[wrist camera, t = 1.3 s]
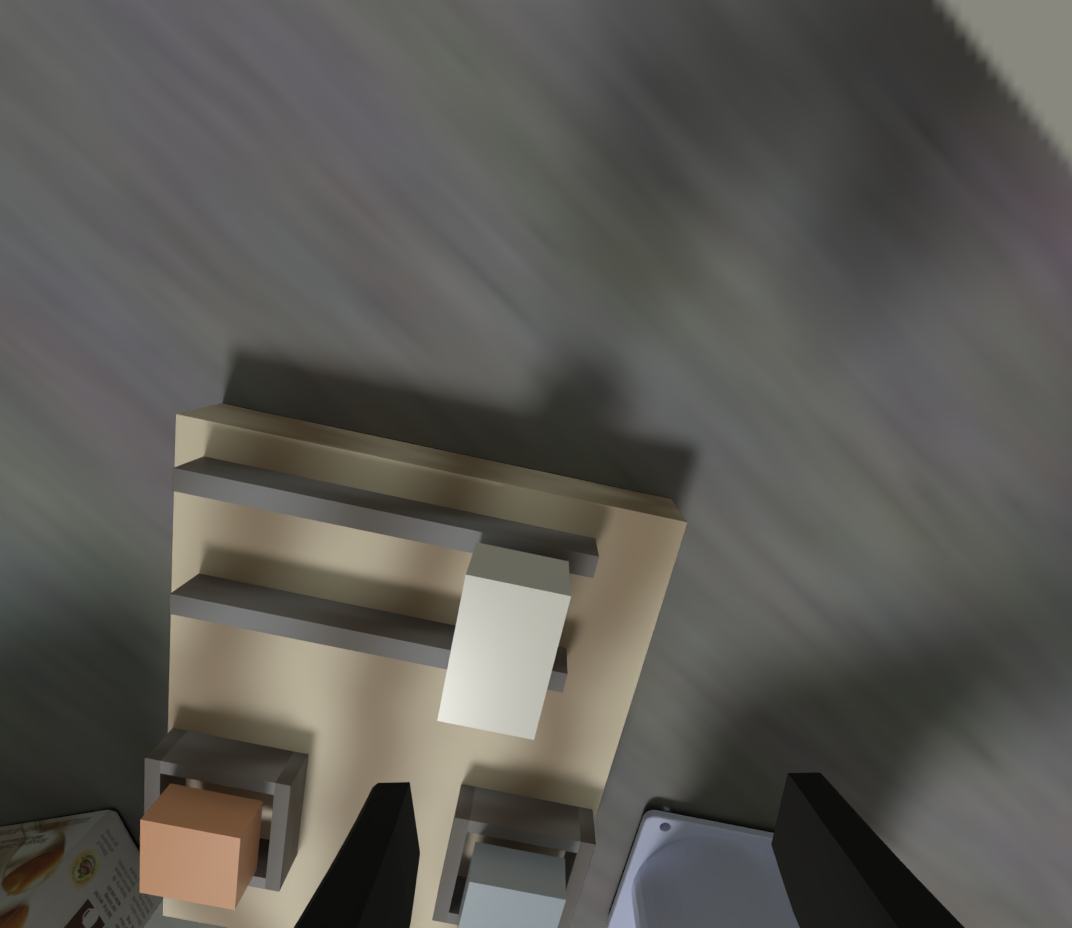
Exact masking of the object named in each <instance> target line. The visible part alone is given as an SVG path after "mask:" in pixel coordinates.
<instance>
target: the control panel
mask: <svg viewBox="0 0 1072 928" xmlns="http://www.w3.org/2000/svg"><path fill="white" fill-rule="evenodd" d="M173 491H174V516H173V554H172V592H171V593H170V613H169V614H171V630H170V668H169V706H168V734H167V735H166V736H165V737H164V738H163V739H162V740H161V741H160V742H159V743H158V744H157V745H156V746H155V747H154V748H153V750H152V751H151V752H150V753H149V754H148V755H147V756H146V757H145V776H144V814H145V813H146V812H147V811H148V810H149V808H150V807H151V806H152V805H153V804H154V802H155V801H156V800H157V799H158V798H159V796H160V795H161V794H162V793H163V792H164V790H165V789H166V788H167V787H168V786H169V784H170V783H171V784H176V785H181V786H187V787H192V788H197V789H202V790H208V791H213V792H218V793H223V794H229V795H234V796H239V797H244V798H249V799H255V800H260V801H263V806H262V817H261V828H260V840H259V851H258V862H257V870H256V872H255V874H254V876H253V877H252V879H251V881H250V883H249V885H248V887H247V888H246V890H245V892H244V894H243V896H242V898H241V900H240V901H239V903H238V905H237V907H236V909H235V910H231V909H226V908H221V907H215V906H210V905H204V904H199V903H193V902H188V901H183V900H177V899H172V898H166V897H163V916H168V917H174V918H179V919H185V920H190V921H195V922H201V923H206V924H212V925H217V926H223V927H228V928H294V926H295V924H296V923H297V921H298V920H299V918H300V916H301V915H302V913H303V911H304V910H305V908H306V906H307V905H308V903H309V901H310V900H311V898H312V896H313V895H314V893H315V891H316V890H317V888H318V886H319V885H320V883H321V881H322V880H323V878H324V876H325V874H326V873H327V871H328V869H329V868H330V866H331V864H332V862H333V861H334V859H335V857H336V855H337V853H338V852H339V850H340V848H341V846H342V845H343V843H344V841H345V839H346V837H347V836H348V834H349V832H350V830H351V828H352V826H353V824H354V823H355V821H356V819H357V817H358V815H359V813H360V811H361V809H362V807H363V805H364V803H365V801H366V799H367V797H368V795H369V793H370V791H371V789H372V787H373V786H375V785H376V784H377V783H391V782H410V787H411V794H412V800H413V807H414V814H415V821H416V828H417V835H418V841H419V848H420V858H419V866H418V873H417V881H416V889H415V896H414V903H413V910H412V917H411V923H410V928H457V923H458V916H459V910H460V905H461V900H462V896H463V892H464V888H465V884H466V879H467V875H468V871H469V867H470V862H471V858H472V854H473V850H474V846H475V842H480V843H485V844H490V845H495V846H501V847H506V848H511V849H516V850H521V851H527V852H532V853H537V854H542V855H548V856H553V857H558V858H563V859H565V880H566V902H565V905H564V908H563V911H562V915H561V918H560V921H559V924H558V928H569V927H570V924H571V920H572V917H573V914H574V911H575V908H576V905H577V902H578V898H579V895H580V892H581V889H582V886H583V883H584V880H585V877H586V873H587V870H588V867H589V864H590V861H591V858H592V855H593V851H594V848H595V845H596V842H595V831H594V819H595V816H596V813H597V810H598V807H599V803H600V800H601V797H602V794H603V791H604V787H605V784H606V781H607V778H608V775H609V771H610V768H611V765H612V762H613V759H614V755H615V752H616V749H617V746H618V743H619V739H620V736H621V733H622V730H623V727H624V723H625V720H626V717H627V714H628V711H629V707H630V704H631V701H632V698H633V695H634V691H635V688H636V685H637V682H638V679H639V675H640V672H641V669H642V666H643V663H644V659H645V656H646V653H647V650H648V647H649V643H650V640H651V637H652V634H653V631H654V627H655V624H656V621H657V618H658V615H659V611H660V608H661V605H662V602H663V599H664V595H665V592H666V589H667V586H668V583H669V579H670V576H671V573H672V570H673V567H674V563H675V560H676V557H677V554H678V551H679V547H680V544H681V541H682V538H683V535H684V531H685V528H686V525H687V521H686V520H685V518H684V517H683V515H682V514H681V512H680V511H679V510H678V508H677V507H676V505H675V504H674V502H673V501H672V500H671V499H669V498H664V497H659V496H654V495H650V494H645V493H640V492H636V491H631V490H626V489H622V488H617V487H612V486H607V485H603V484H598V483H593V482H589V481H584V480H579V479H575V478H570V477H565V476H560V475H556V474H551V473H546V472H542V471H537V470H532V469H528V468H523V467H518V466H513V465H509V464H504V463H499V462H495V461H490V460H485V459H481V458H476V457H471V456H466V455H462V454H457V453H452V452H448V451H443V450H438V449H434V448H429V447H424V446H419V445H415V444H410V443H405V442H401V441H396V440H391V439H387V438H382V437H377V436H372V435H368V434H363V433H358V432H354V431H349V430H344V429H340V428H335V427H330V426H326V425H321V424H316V423H311V422H307V421H302V420H297V419H293V418H288V417H283V416H279V415H274V414H269V413H264V412H260V411H255V410H250V409H246V408H241V407H236V406H232V405H227V404H222V403H221V404H217V405H213V406H208V407H204V408H200V409H196V410H191V411H187V412H183V413H179V414H176V440H175V467H174V468H173ZM477 542H478V543H483V544H488V545H492V546H497V547H502V548H507V549H512V550H516V551H521V552H526V553H531V554H536V555H540V556H545V557H550V558H555V559H560V560H564V561H568V562H569V575H570V589H571V599H570V602H569V606H568V610H567V614H566V618H565V622H564V626H563V630H562V633H561V637H560V641H559V645H558V649H557V653H556V657H555V660H554V664H553V668H552V672H551V676H550V680H549V684H548V688H547V691H546V695H545V699H544V703H543V707H542V711H541V715H540V718H539V722H538V726H537V730H536V734H535V738H534V740H532V739H527V738H522V737H517V736H511V735H506V734H501V733H496V732H491V731H486V730H481V729H476V728H471V727H466V726H461V725H456V724H451V723H446V722H441V721H437V719H438V714H439V709H440V704H441V699H442V693H443V688H444V683H445V678H446V673H447V668H448V663H449V658H450V652H451V647H452V642H453V637H454V632H455V627H456V622H457V616H458V611H459V606H460V601H461V596H462V591H463V586H464V581H465V575H466V572H467V569H468V566H469V563H470V560H471V557H472V555H473V552H474V549H475V546H476V543H477Z"/></svg>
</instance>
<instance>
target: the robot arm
mask: <svg viewBox="0 0 1072 928" xmlns="http://www.w3.org/2000/svg"><path fill="white" fill-rule="evenodd" d="M419 858H420V848H419V841H418V835H417V828H416V821H415V814H414V807H413V800H412V794H411V787H410V782H391V783H377V784H376V785H375V786H373V787H372V789H371V791H370V793H369V795H368V797H367V799H366V801H365V803H364V805H363V807H362V809H361V811H360V813H359V815H358V817H357V819H356V821H355V823H354V824H353V826H352V828H351V830H350V832H349V834H348V836H347V837H346V839H345V841H344V843H343V845H342V846H341V848H340V850H339V852H338V853H337V855H336V857H335V859H334V861H333V862H332V864H331V866H330V868H329V869H328V871H327V873H326V874H325V876H324V878H323V880H322V881H321V883H320V885H319V886H318V888H317V890H316V891H315V893H314V895H313V896H312V898H311V900H310V901H309V903H308V905H307V906H306V908H305V910H304V911H303V913H302V915H301V916H300V918H299V920H298V921H297V923H296V924H295V926H294V928H410V923H411V917H412V910H413V903H414V896H415V889H416V881H417V873H418V866H419ZM607 928H964V927H963V926H962V925H961V924H960V923H959V921H958V920H957V919H956V918H955V917H954V916H953V915H952V914H951V913H950V912H949V911H948V910H947V909H946V908H945V907H944V906H943V905H942V904H941V903H940V902H939V901H938V900H937V899H936V898H935V897H934V895H933V894H932V893H931V892H930V891H929V890H928V889H927V888H926V887H925V886H924V885H923V884H922V883H921V882H920V881H919V880H918V879H917V878H916V877H915V876H914V875H913V874H912V872H911V871H910V870H909V869H908V868H907V867H906V866H905V865H904V864H903V863H902V862H901V861H900V860H899V859H898V857H897V856H896V855H895V854H894V853H893V852H892V851H891V850H890V849H889V848H888V847H887V845H886V844H885V843H884V842H883V841H882V840H881V839H880V838H879V837H878V836H877V835H876V834H875V832H874V831H873V830H872V829H871V828H870V827H869V826H868V825H867V824H866V823H865V821H864V820H863V819H862V818H861V817H860V816H859V815H858V814H857V813H856V811H855V810H854V809H853V808H852V807H851V806H850V805H849V804H848V803H847V802H846V800H845V799H844V798H843V797H842V796H841V795H840V794H839V793H838V792H837V790H836V789H835V788H834V787H833V786H832V785H831V784H830V783H829V782H828V781H827V779H826V778H825V777H824V776H823V775H822V774H821V773H788V775H787V780H786V784H785V788H784V792H783V796H782V801H781V805H780V809H779V813H778V818H777V822H776V826H775V830H774V833H771V832H766V831H761V830H756V829H751V828H746V827H741V826H736V825H730V824H725V823H720V822H715V821H710V820H705V819H700V818H694V817H689V816H684V815H679V814H674V813H669V812H664V811H659V810H650V811H647V812H646V813H645V814H644V816H643V818H642V821H641V824H640V827H639V830H638V833H637V835H636V838H635V841H634V844H633V847H632V850H631V853H630V856H629V859H628V862H627V864H626V867H625V870H624V873H623V876H622V879H621V882H620V885H619V888H618V891H617V894H616V896H615V899H614V902H613V905H612V908H611V911H610V914H609V917H608V920H607Z"/></svg>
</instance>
